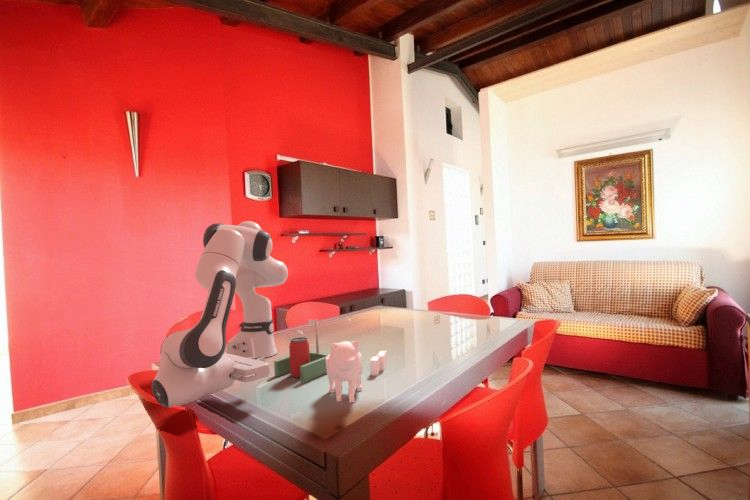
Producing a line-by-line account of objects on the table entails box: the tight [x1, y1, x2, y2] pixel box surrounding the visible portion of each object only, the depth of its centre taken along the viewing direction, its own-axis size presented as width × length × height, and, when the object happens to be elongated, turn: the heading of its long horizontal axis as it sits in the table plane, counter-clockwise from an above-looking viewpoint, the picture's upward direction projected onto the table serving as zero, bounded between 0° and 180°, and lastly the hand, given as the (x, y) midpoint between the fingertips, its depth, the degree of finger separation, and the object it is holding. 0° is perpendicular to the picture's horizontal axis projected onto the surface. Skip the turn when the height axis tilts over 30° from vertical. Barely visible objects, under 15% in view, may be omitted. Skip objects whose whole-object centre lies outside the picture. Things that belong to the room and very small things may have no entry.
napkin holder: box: [369, 350, 388, 376], centre depth 122 cm, size 15×11×6 cm
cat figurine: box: [325, 340, 365, 403], centre depth 102 cm, size 25×10×17 cm, turn 9°
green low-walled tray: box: [273, 319, 330, 383], centre depth 123 cm, size 14×14×17 cm
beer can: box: [289, 336, 310, 378], centre depth 121 cm, size 7×7×12 cm
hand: (262, 359), depth 109 cm, fingers closed
